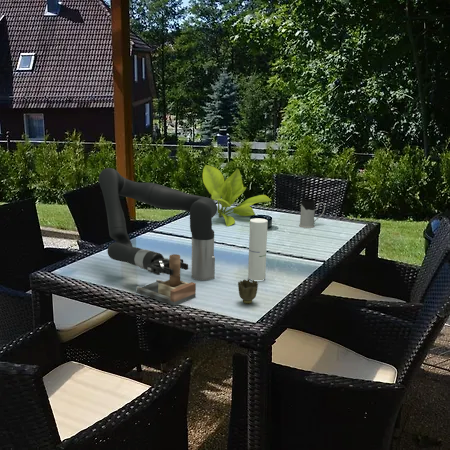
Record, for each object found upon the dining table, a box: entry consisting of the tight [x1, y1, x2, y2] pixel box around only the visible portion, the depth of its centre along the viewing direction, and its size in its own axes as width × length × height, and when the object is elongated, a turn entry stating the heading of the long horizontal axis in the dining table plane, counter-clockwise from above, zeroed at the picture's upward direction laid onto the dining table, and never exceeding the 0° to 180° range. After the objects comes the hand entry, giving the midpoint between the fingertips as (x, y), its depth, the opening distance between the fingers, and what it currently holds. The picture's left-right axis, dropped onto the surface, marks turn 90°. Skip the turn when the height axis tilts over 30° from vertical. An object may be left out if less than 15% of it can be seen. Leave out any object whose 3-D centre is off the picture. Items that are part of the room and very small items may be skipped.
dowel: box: [168, 253, 181, 287], centre depth 210 cm, size 4×4×14 cm
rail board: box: [136, 279, 197, 307], centre depth 214 cm, size 20×12×6 cm, turn 51°
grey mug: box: [298, 198, 326, 229], centre depth 319 cm, size 9×14×15 cm, turn 96°
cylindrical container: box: [247, 217, 268, 280], centre depth 231 cm, size 7×7×25 cm
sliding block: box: [158, 279, 189, 297], centre depth 212 cm, size 8×8×4 cm
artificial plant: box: [202, 164, 273, 227], centre depth 331 cm, size 42×43×30 cm
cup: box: [237, 279, 259, 305], centre depth 208 cm, size 8×7×8 cm
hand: (180, 269), depth 208 cm, fingers open, 7 cm apart
